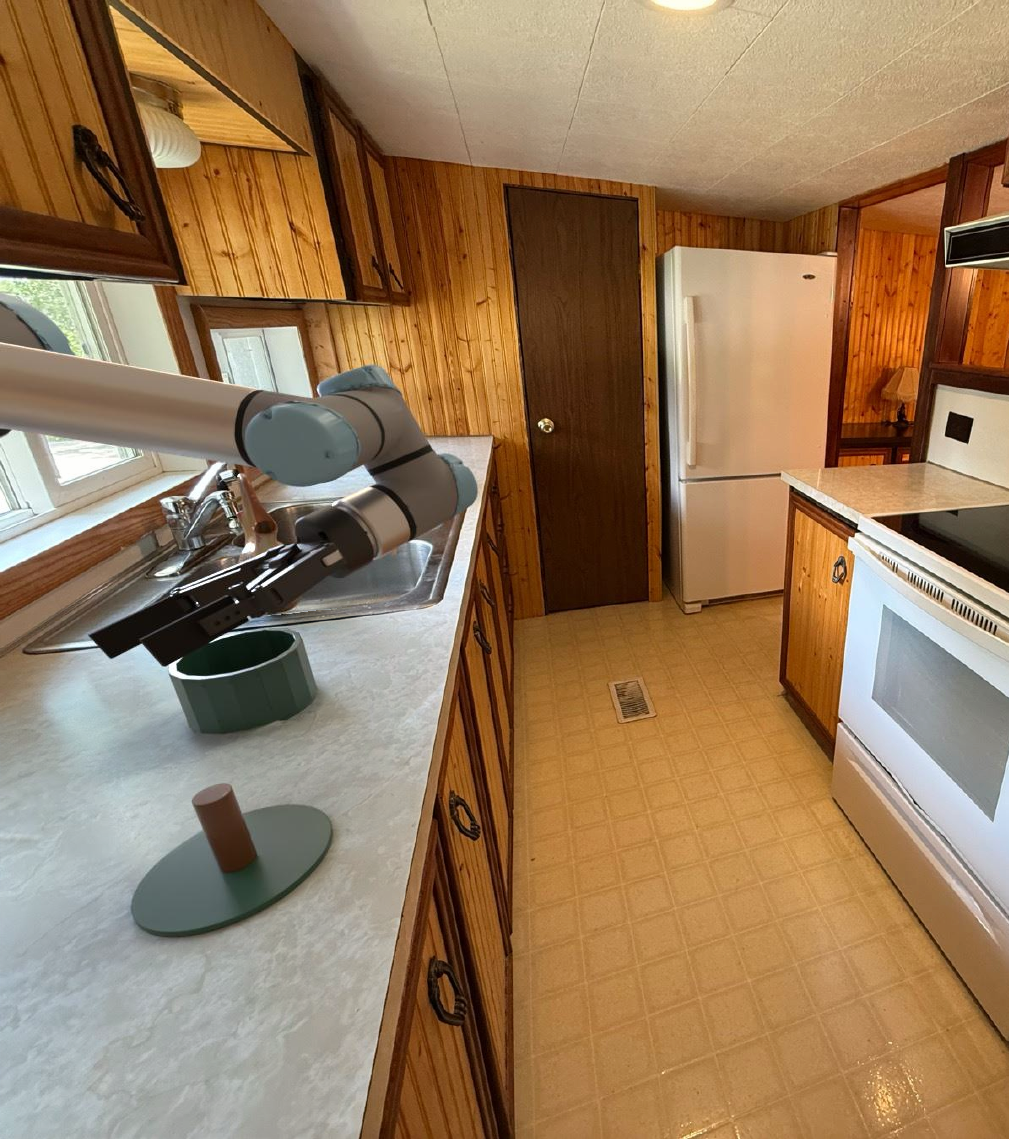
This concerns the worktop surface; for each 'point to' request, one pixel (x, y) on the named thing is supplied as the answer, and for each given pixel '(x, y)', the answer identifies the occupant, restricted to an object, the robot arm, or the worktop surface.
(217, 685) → the pot
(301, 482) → the robot arm
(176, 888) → the lid
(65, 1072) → the worktop surface
